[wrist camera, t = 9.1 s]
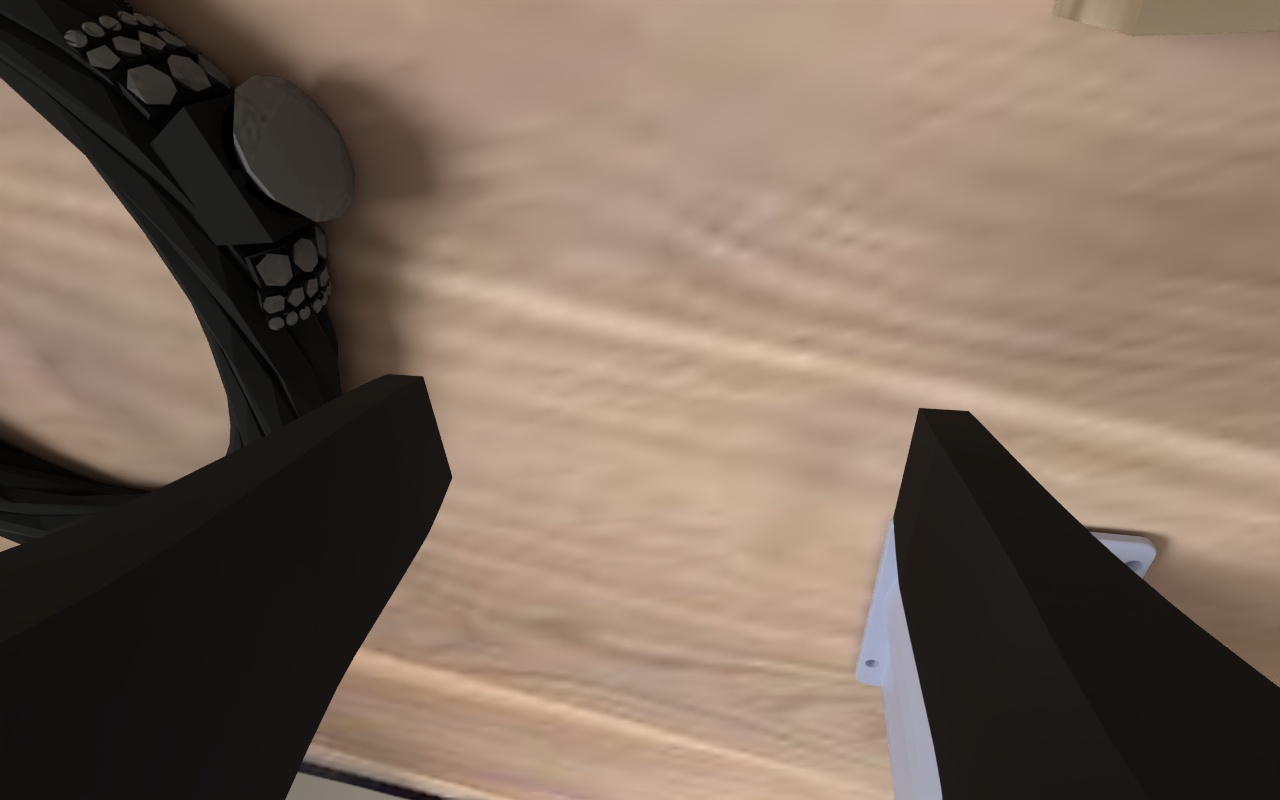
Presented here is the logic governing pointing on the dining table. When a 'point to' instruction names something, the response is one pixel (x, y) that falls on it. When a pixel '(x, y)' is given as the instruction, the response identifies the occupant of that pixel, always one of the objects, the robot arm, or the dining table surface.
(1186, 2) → the beige socket block
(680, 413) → the dining table surface
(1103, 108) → the dining table surface
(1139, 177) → the dining table surface
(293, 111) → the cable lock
